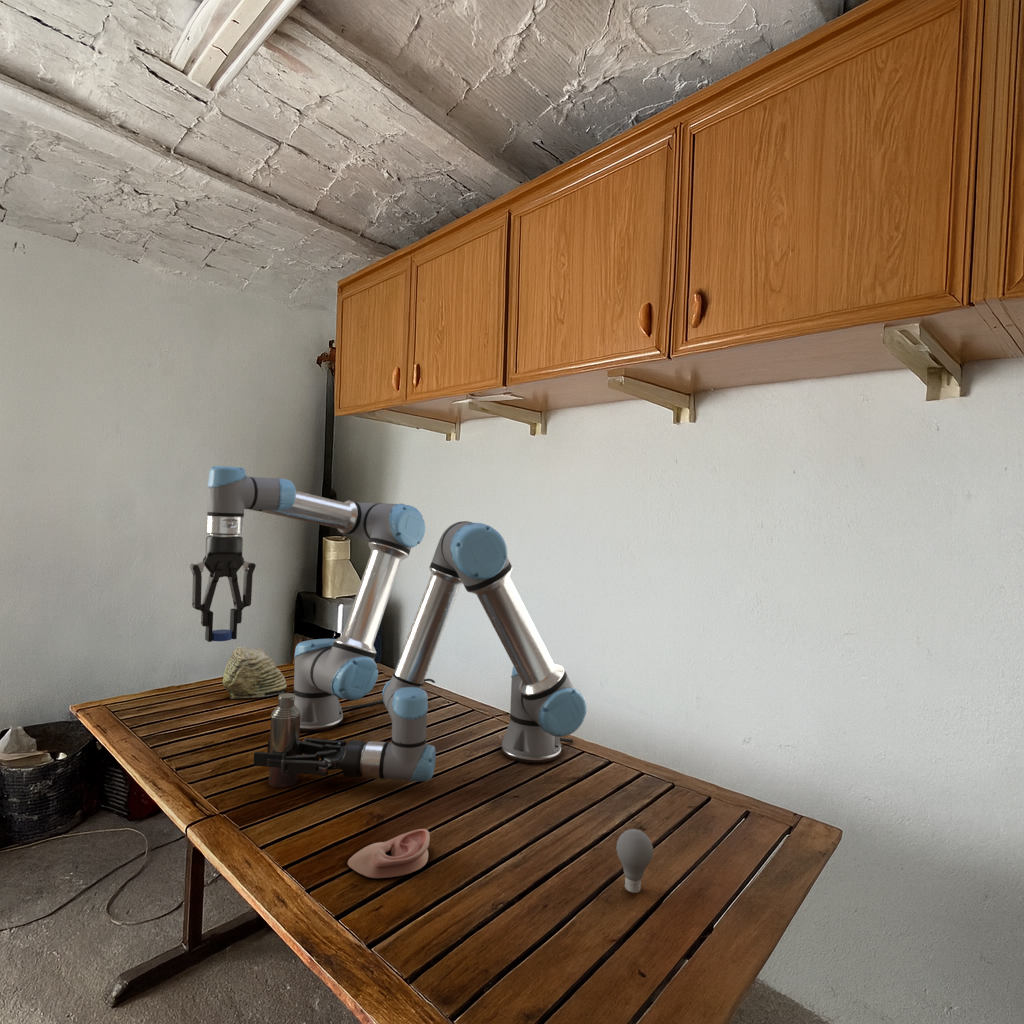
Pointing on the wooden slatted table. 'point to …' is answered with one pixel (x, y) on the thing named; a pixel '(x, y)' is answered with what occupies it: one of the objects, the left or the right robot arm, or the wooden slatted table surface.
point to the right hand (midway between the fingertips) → (261, 752)
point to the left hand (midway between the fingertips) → (220, 639)
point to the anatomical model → (393, 856)
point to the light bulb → (634, 857)
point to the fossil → (252, 674)
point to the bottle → (284, 738)
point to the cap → (221, 635)
